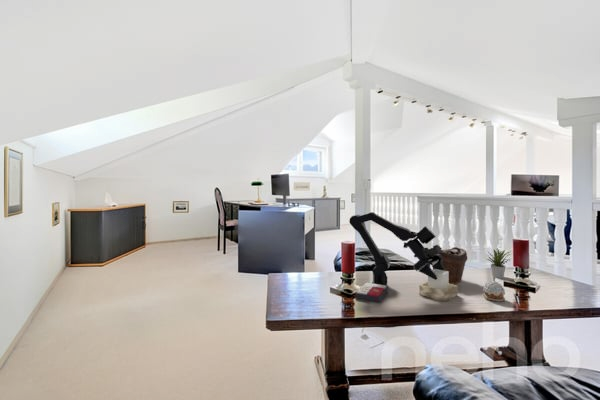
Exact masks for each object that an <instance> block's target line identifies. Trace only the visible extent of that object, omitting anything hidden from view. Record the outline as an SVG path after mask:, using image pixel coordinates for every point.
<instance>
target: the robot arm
mask: <svg viewBox="0 0 600 400" xmlns="http://www.w3.org/2000/svg"><path fill="white" fill-rule="evenodd" d="M369 221H371V222H373V223H374V224H377V225H379V226H381V227H382V228H384V229H386V230H387V231H390V233H392V234H394V235H395V237H396V238H398V239H399V240H400V241H402V242H403V246H402V247H403V249H410V251H411V252H412V254H414V255H413V257H414V258H417V259H418V260H417V261H416V263H414V264H413V269H414V270H415V271H416V272H420V273H421V274H424V275H426V276H427V277H428V276H429V277H431V278H433V279H435V280H436V279H437V277H436V275H435V274H434V272H433V271H432V270H433V268H434V269H438V270H443V271H445V270H444V267H443V265H442V260H443V259H442V258H443V256H442V255H441V254H439V253H442V252H441V250H443V249H442V247H441V246H440V245H438V244H435V245H433V246H432V247H431V248H428V247H426V246H424V245H423V244H426V245H427V244H428V243H430V242H431V241H432V240H434V239H435V238H436V235H435V234H434V233H433V231H432V230H431V229H429V228H428V226H424V227H422V228H421V230H419V231H416V232H415V231H411V230H410V228H407V227H404V226H401V225H397V224H395V223H393V222H391V221H389V219H388V220H387V219H386V218H384V217H382V216H380V215H379V214H377V213H375V212H374V211H372V212H368V213H366V214H362V215H361V214H355V215H352V216H350V218H349V224H350V225H351V226H352V227H353V229H354V230H355V231H356V232H357V233H358V234H359V235H360V237H361V238H362V240H363V241H364V244H365V245H366V247H367V248H368V251H369V252H370V254H371V255H372V257H373V261H374V265H375V266H374V268H373V269H372V271H371V272H372V281H371V283H372V284H379V285H386V286H388V276H387V272H388V269H389V268H390V266H391V263H390V261H391V260H390V258H389V257H388V255H387V254H386V253H384V254H383V252H381V251H380V249H379V247H378V246H377V244H376V243H375V241H374V239H373V238H372V236H371V235H370V233H369V231H368V230H367V227H366V222H369ZM434 254H436V255H434ZM432 265H433V266H432ZM431 267H432V268H431ZM386 271H387V272H386Z"/></svg>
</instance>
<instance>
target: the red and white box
mask: <svg viewBox="0 0 600 400" xmlns="http://www.w3.org/2000/svg"><path fill="white" fill-rule="evenodd" d="M388 287H389V286H388V285H387V286H386V285H379V284H372V282H365V283H364V284H363V285H362V286H360V288H359V289H358V290H357V291H356V292H355V294H354V295H355V298H354V299H355V300H360V301H364V302H371V303H375V304H376V303H377V304H379V303H381V302H382V301H383V299H384V298H385V297H386V296H387V295H388V293H389V291H388Z"/></svg>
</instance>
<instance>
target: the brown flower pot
mask: <svg viewBox="0 0 600 400" xmlns="http://www.w3.org/2000/svg"><path fill="white" fill-rule="evenodd" d="M441 252H442V253H439V254H441V255H442V256H443V258H442V259H443V260H442V265H443V267H444V270H445V271H448V272H449V284H459V283H461V282H462V279H463V275H464V270H465V266H466V262H467V261H468V253H467V251H466V250H465V249H464V248H461V247H460V248H459V247H451V248H450V249H441ZM434 255H436V254H434ZM432 266H433V265H431V267H432ZM433 269H434V268H433V267H432V270H433Z"/></svg>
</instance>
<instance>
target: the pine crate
mask: <svg viewBox="0 0 600 400" xmlns="http://www.w3.org/2000/svg"><path fill="white" fill-rule="evenodd" d="M418 292H419V293H418V294H419V296H424V297H427V298H430V299H434V300H437V301H441V302H448V301H449V300H451V299H453V298H455V297H457V296H458V284H457V285H456V284H453V283H449V289H448V290H446V291H443V290H439V289H435V288H431V287H428V281H426V282H424V283H421V284H419V291H418Z"/></svg>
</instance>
